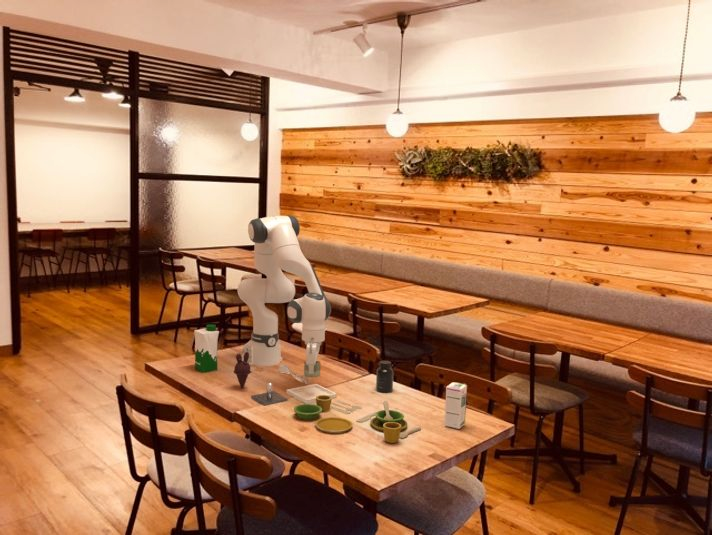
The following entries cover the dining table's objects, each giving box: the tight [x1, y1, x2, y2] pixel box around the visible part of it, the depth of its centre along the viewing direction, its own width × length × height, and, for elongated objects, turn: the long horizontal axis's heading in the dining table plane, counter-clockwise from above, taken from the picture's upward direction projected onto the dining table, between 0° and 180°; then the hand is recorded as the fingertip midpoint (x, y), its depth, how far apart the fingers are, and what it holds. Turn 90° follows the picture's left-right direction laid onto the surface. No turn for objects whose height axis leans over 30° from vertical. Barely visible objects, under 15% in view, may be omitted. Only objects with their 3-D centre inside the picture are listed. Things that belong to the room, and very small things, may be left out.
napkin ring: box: [303, 360, 322, 378], centre depth 234 cm, size 6×6×5 cm
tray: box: [286, 383, 338, 404], centre depth 235 cm, size 14×14×2 cm
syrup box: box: [444, 382, 468, 430], centre depth 211 cm, size 6×6×14 cm
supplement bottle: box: [375, 360, 394, 394], centre depth 245 cm, size 7×7×12 cm
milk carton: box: [193, 323, 220, 374], centre depth 259 cm, size 9×9×20 cm
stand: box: [250, 382, 288, 407], centre depth 229 cm, size 10×10×6 cm
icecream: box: [233, 352, 252, 389], centre depth 239 cm, size 7×7×15 cm
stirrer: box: [278, 364, 311, 385], centre depth 255 cm, size 20×4×5 cm, turn 45°
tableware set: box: [293, 395, 422, 444], centre depth 210 cm, size 41×28×6 cm
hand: (312, 370), depth 234 cm, fingers closed on napkin ring, 6 cm apart
